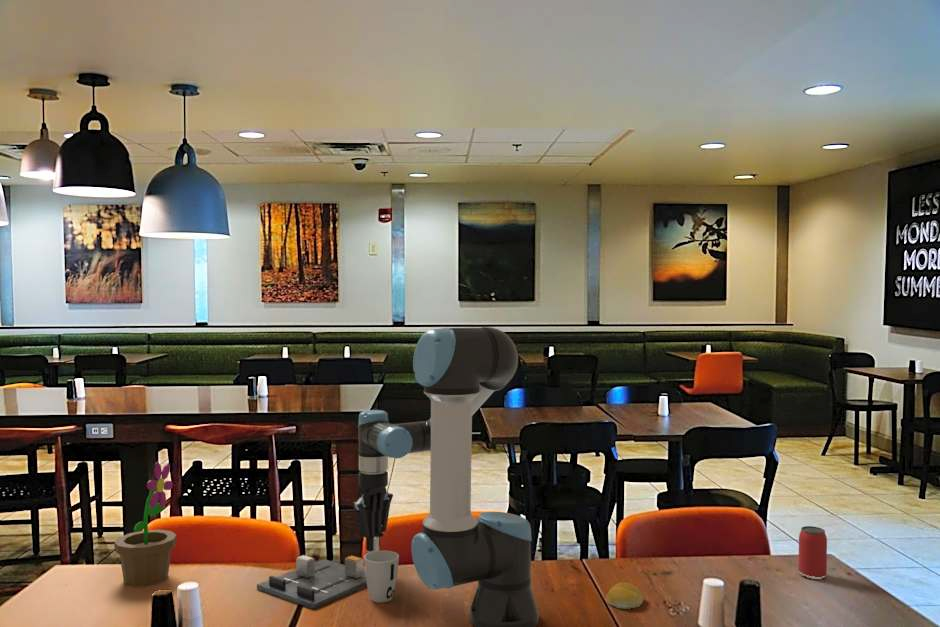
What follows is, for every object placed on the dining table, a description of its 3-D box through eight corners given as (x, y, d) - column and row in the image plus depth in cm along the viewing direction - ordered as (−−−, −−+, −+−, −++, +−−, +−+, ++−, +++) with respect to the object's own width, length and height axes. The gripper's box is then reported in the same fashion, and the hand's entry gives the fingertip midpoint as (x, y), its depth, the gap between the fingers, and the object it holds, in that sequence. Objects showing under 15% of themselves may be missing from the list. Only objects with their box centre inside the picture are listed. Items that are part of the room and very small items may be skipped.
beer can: (799, 579, 193) (800, 531, 192) (796, 569, 199) (797, 524, 199) (828, 581, 191) (829, 534, 190) (824, 572, 197) (825, 526, 197)
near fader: (363, 575, 190) (363, 558, 190) (356, 578, 188) (356, 561, 188) (351, 572, 192) (351, 555, 192) (344, 574, 191) (344, 557, 190)
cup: (392, 606, 175) (393, 563, 174) (359, 603, 176) (359, 560, 176) (403, 593, 183) (403, 551, 182) (370, 590, 184) (370, 549, 184)
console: (379, 580, 191) (379, 567, 191) (313, 609, 173) (313, 595, 173) (324, 563, 202) (324, 551, 202) (256, 589, 185) (256, 576, 185)
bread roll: (603, 607, 175) (603, 590, 175) (611, 593, 183) (611, 577, 183) (639, 613, 172) (639, 595, 172) (646, 598, 180) (646, 582, 180)
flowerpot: (158, 591, 183) (157, 467, 183) (102, 588, 185) (101, 465, 184) (187, 569, 198) (186, 454, 197) (135, 567, 199) (134, 453, 198)
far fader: (314, 575, 190) (314, 558, 190) (307, 577, 188) (307, 560, 188) (303, 571, 193) (303, 554, 193) (296, 574, 191) (296, 557, 191)
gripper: (379, 464, 203) (379, 552, 203) (344, 473, 192) (344, 566, 193) (401, 468, 198) (400, 557, 199) (366, 478, 188) (366, 572, 189)
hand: (373, 561), depth 196 cm, fingers closed
